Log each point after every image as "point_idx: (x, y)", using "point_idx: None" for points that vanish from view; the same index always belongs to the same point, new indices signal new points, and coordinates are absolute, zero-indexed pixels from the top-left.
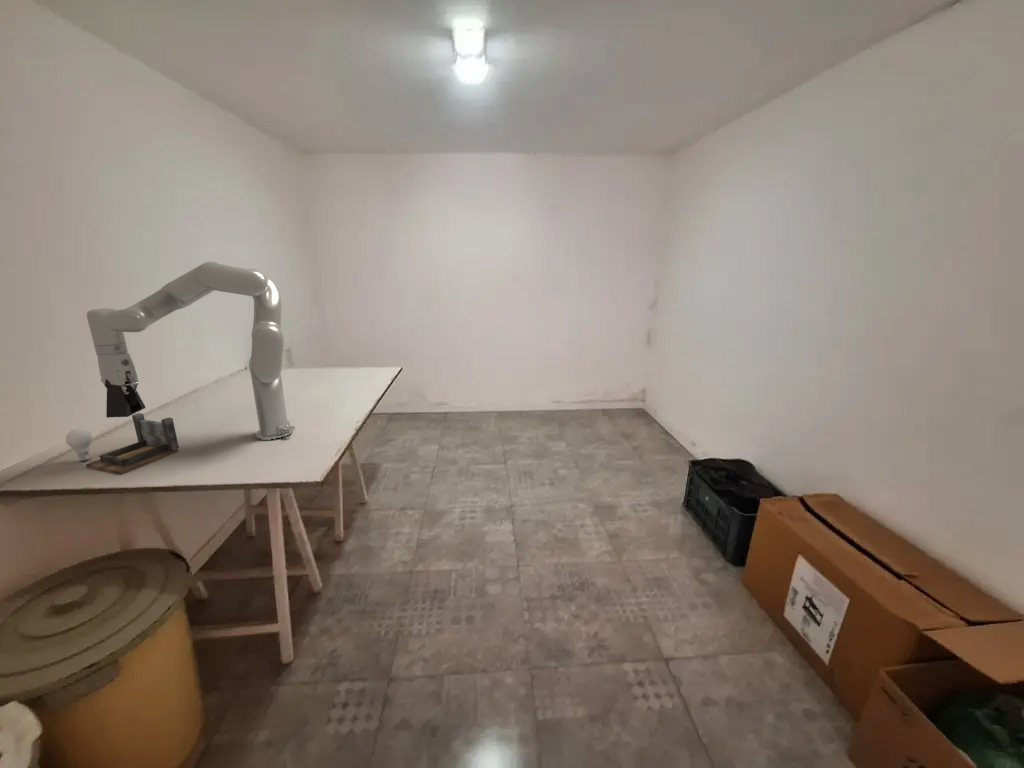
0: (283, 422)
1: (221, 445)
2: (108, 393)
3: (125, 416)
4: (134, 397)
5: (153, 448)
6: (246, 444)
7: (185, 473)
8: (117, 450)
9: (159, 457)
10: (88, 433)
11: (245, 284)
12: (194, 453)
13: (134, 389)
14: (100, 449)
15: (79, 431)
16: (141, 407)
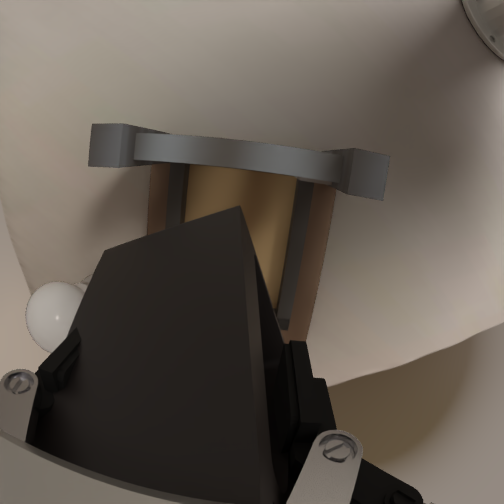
0: None
1: (436, 95)
2: None
3: None
4: (328, 410)
5: (297, 223)
6: (492, 89)
7: (464, 295)
8: None
9: (327, 231)
10: (70, 315)
11: None
12: (405, 167)
13: (385, 486)
14: (55, 208)
15: (59, 340)
16: (253, 254)
